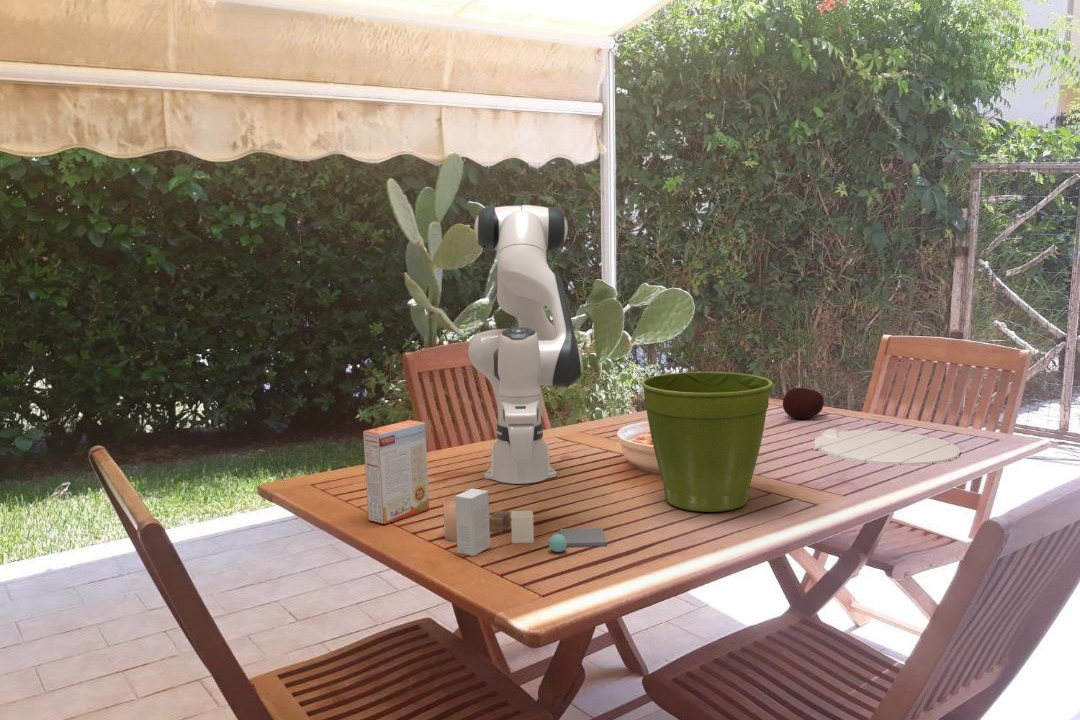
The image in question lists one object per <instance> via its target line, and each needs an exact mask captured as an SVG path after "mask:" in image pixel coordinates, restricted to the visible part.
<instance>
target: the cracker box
mask: <svg viewBox="0 0 1080 720" xmlns="http://www.w3.org/2000/svg"><path fill="white" fill-rule="evenodd" d="M426 432H427V430H426V423H425V422H423V421H417V420H412V419H408V420H407V419H406V420H404V421H399V422H397V423H391V424H387V425H383V426H379V427H376V428H375V427H374V428H371V429H367V430H364V431H363V432H362V433H363V434H362V437H363V451H364V453H363V455H364V467H365V469H364V472H365V486H366V501H367V502H366V503H367V504H366V505H367V517H368V519H369V520H372V521H375V522H378V523H377V524H379V523H381V524H380V525H382V524H387V523H389V524H391V523H390V522H392V523H395V522H398V521H400V520H399V519H401V520H403V519H406V518H408V517H409V518H410V517H412V516H414V515H418V514H420V513H423V511H424V512H427V511H428V510H430V499H429V496H430V495H429V477H428V475H429V474H428V459H427V458H428V456H427V453H428V451H427V435H426ZM402 518H403V519H402ZM368 519H367V520H368ZM369 520H368V521H369ZM397 520H398V521H397ZM394 521H395V522H394ZM375 522H374V523H375ZM387 525H388V524H387Z"/></svg>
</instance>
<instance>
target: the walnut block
mask: <svg viewBox="0 0 1080 720" xmlns="http://www.w3.org/2000/svg"><path fill="white" fill-rule="evenodd" d="M510 512H511V511H509V510H508V511H507V510H495V511H494V513H492V514H491V516H490V515H489V528H490V533H503V532H504V531H505V529H506V528H508V526H509V525H510V524H511V515H510V514H511V513H510Z"/></svg>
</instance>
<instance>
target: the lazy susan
mask: <svg viewBox="0 0 1080 720" xmlns="http://www.w3.org/2000/svg"><path fill="white" fill-rule="evenodd" d="M813 450H818V451H819V452H821V453H823V454H825V455H829V456H831V457H834V458H838V459H841V458H842V460H846V461H851V460H853V461H852V462H857V461H858V462H859V463H863V462H865V464H871V463H876V464H875V465H882V464H895V465H894V466H901V465H914V466H921V465H920V464H931V465H933V464H932V463H939V462H944V461H947V460H951V459H954V458H956V457H957V456H959V454H960V455H961V450H960V448H959V447H958V446H957V445H956V444H954V443H951V442H950V441H947V440H945V439H941V438H937V437H934V436H929V435H923V434H917V433H910V432H903V431H891V430H876V429H874V427H873V428H872V427H870V428H868V429H864V430H861V429H860V430H844V431H839V430H838V429H837V428H828V429H825V430H824V431H822V432H821V434H820V435H819V436H817V437H816V438H815V439H814V442H813ZM959 457H960V456H959ZM956 459H957V458H956ZM954 460H955V459H954ZM858 462H857V463H858ZM900 464H901V465H900ZM939 464H940V463H939Z"/></svg>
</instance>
